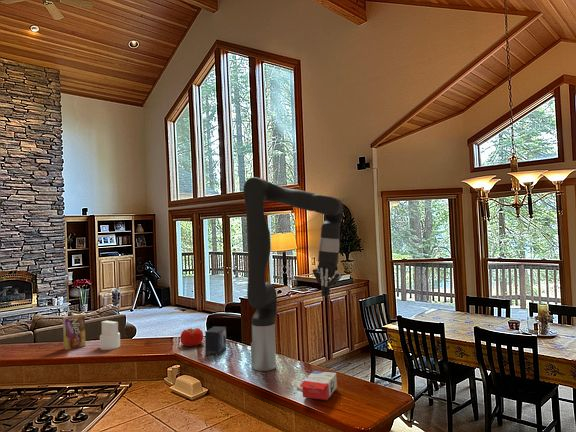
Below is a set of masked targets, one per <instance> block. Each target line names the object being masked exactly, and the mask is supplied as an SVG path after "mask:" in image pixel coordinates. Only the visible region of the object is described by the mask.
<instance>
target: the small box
mask: <svg viewBox="0 0 576 432" xmlns="http://www.w3.org/2000/svg"><path fill="white" fill-rule="evenodd" d="M204 335H205V336H204V337H205V339H204V340H205V342H204V343H205V348H204V351H205V352H204V353H205V355H204V356H217V357H218V356H219V355H221V354H222V353H223V352H225V351H226V350H227V326H216V325H215V326H211V328H208V330H206V331H204Z"/></svg>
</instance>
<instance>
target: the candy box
mask: <svg viewBox="0 0 576 432" xmlns="http://www.w3.org/2000/svg"><path fill="white" fill-rule="evenodd" d="M85 321H86V320H85V314H83V313H80V314H75V315H74V314H73V315H69V316H68V315H67V316H63V317H62V322H63V323H62V326H63V327H62V329H63V331H62V334H63V349H64V350H66V351H67V350H73V349H79V348H82V347H85V346H86V324H85V323H86V322H85Z"/></svg>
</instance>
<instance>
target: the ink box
mask: <svg viewBox="0 0 576 432" xmlns="http://www.w3.org/2000/svg"><path fill="white" fill-rule="evenodd" d="M337 379H338V378H337V373H336V372H330V371H320V370H313V371H312V372H311V373H310V374H309V375H308V376H307V377H306V378H305V379H304V380H303V381H302V382H301V384H300V387H302V389H303V391H302V397H303V398H307V399H308V398H309V399H313V400H314V399H315V400H323V401H328V400H329V398H330V397H331V396H332V395H333V393H334V392H335V390H336V388H337V387H338V381H337Z"/></svg>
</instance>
